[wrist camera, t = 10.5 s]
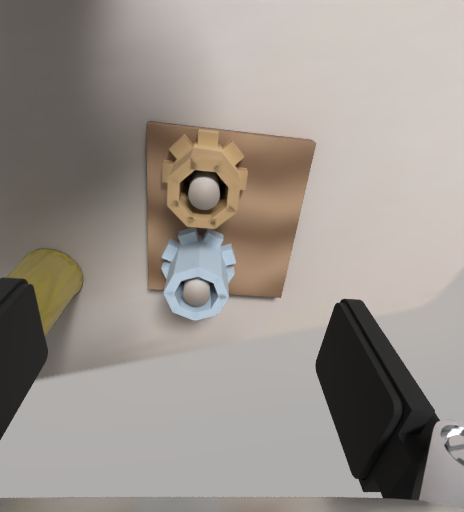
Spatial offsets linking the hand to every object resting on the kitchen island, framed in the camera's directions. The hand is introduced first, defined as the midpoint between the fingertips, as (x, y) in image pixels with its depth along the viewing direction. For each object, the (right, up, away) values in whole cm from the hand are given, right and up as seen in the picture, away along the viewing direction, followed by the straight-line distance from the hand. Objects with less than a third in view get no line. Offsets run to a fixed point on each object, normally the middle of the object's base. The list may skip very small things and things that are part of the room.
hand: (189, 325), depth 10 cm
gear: (-2, +2, +22) cm, 22 cm away
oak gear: (-1, +9, +18) cm, 20 cm away
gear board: (0, +6, +21) cm, 22 cm away
